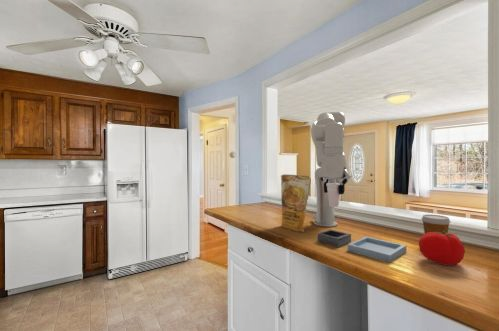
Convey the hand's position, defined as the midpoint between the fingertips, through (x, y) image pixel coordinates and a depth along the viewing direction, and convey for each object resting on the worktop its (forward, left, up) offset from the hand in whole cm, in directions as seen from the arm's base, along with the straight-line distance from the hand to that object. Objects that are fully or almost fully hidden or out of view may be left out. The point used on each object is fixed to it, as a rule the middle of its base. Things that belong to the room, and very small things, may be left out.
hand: (333, 192), depth 108 cm
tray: (+17, +2, -21) cm, 27 cm away
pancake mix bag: (-26, +4, -21) cm, 34 cm away
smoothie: (0, 0, -6) cm, 6 cm away
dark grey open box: (0, 0, -21) cm, 21 cm away
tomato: (+36, +8, -21) cm, 43 cm away
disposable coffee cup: (+30, +26, -21) cm, 45 cm away
